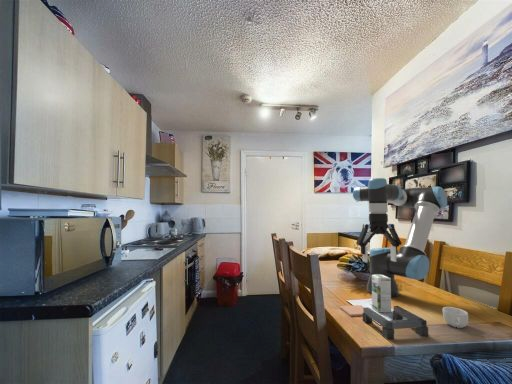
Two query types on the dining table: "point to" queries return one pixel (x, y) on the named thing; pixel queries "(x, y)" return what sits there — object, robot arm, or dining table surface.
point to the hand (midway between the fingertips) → (379, 261)
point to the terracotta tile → (353, 310)
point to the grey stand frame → (396, 321)
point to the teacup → (455, 317)
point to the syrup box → (381, 293)
